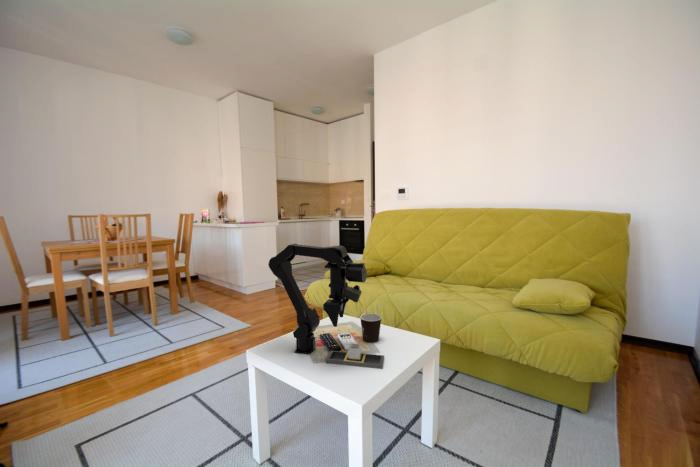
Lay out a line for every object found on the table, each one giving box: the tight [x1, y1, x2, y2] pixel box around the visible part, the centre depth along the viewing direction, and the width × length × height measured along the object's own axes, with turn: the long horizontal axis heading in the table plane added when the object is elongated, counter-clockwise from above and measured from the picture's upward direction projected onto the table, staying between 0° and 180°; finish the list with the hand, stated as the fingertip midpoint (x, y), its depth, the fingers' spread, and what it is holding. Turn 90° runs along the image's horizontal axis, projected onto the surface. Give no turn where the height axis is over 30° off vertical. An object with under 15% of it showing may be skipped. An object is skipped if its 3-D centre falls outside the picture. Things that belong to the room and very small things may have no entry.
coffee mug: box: [360, 313, 382, 344], centre depth 124 cm, size 12×9×10 cm
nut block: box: [347, 342, 363, 361], centre depth 105 cm, size 4×4×6 cm
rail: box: [325, 350, 385, 370], centre depth 105 cm, size 20×6×2 cm, turn 78°
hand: (338, 321), depth 109 cm, fingers open, 9 cm apart
